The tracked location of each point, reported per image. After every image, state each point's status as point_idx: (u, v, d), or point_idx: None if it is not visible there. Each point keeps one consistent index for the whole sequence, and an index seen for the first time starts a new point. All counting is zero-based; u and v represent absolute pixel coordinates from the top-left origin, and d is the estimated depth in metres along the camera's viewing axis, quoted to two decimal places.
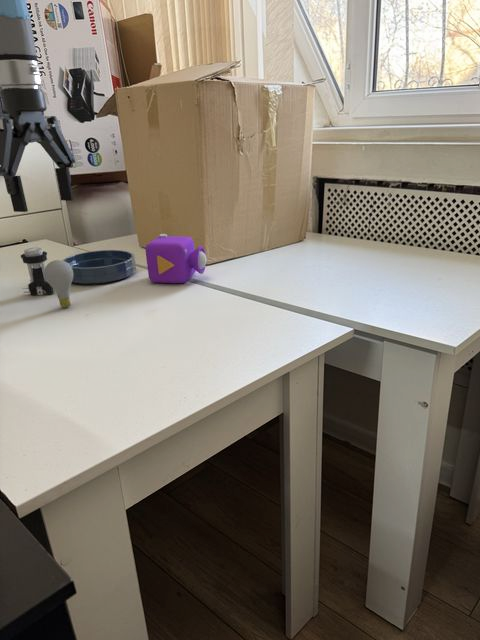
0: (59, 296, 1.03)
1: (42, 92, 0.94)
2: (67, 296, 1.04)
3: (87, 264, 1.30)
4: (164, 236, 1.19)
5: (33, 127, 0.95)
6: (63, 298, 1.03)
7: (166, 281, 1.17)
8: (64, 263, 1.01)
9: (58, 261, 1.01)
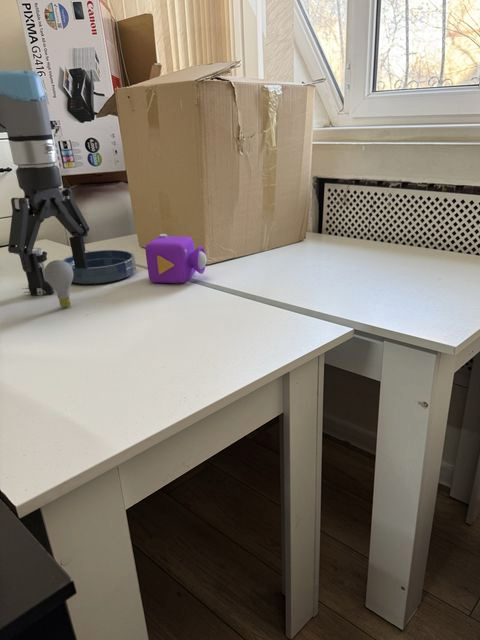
0: (59, 296, 1.03)
1: (57, 169, 0.94)
2: (67, 296, 1.04)
3: (87, 264, 1.30)
4: (164, 236, 1.19)
5: (48, 204, 0.95)
6: (63, 298, 1.03)
7: (166, 281, 1.17)
8: (64, 263, 1.01)
9: (58, 261, 1.01)
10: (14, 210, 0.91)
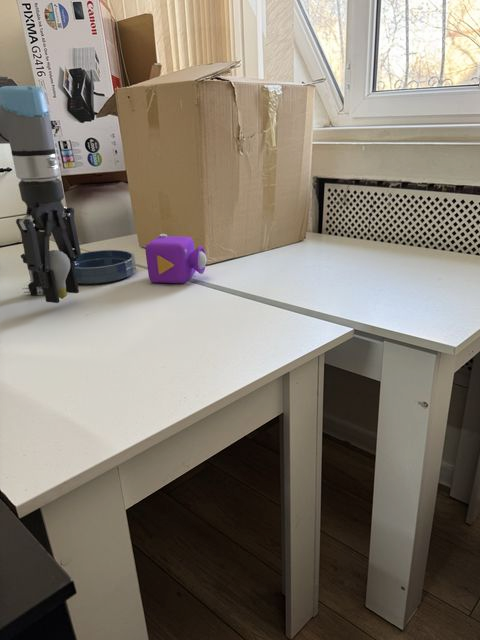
0: None
1: (60, 183, 0.95)
2: (64, 287, 1.03)
3: (87, 264, 1.30)
4: (164, 236, 1.19)
5: (51, 217, 0.96)
6: (59, 289, 1.03)
7: (166, 281, 1.17)
8: (61, 253, 1.00)
9: (55, 251, 1.00)
10: (22, 231, 0.93)
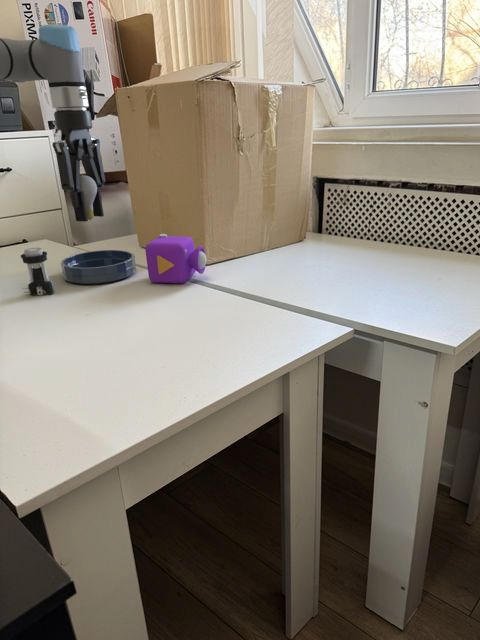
0: None
1: (89, 113, 1.10)
2: (91, 208, 1.18)
3: (87, 264, 1.30)
4: (164, 236, 1.19)
5: (81, 143, 1.11)
6: (88, 210, 1.18)
7: (166, 281, 1.17)
8: (89, 177, 1.15)
9: (84, 175, 1.15)
10: (57, 153, 1.08)
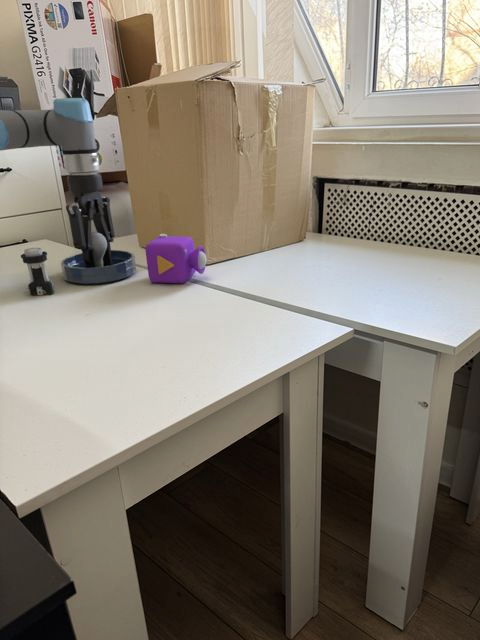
0: None
1: (100, 176, 1.16)
2: (101, 263, 1.24)
3: None
4: (164, 236, 1.19)
5: (92, 204, 1.17)
6: (98, 264, 1.24)
7: (166, 281, 1.17)
8: (100, 235, 1.22)
9: (95, 233, 1.21)
10: (70, 215, 1.14)
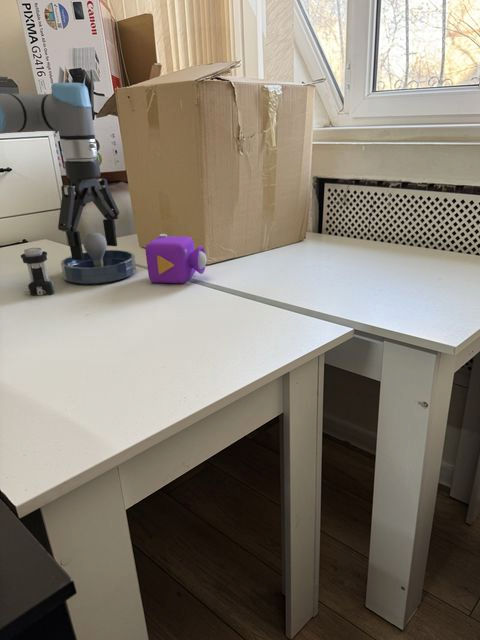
0: (95, 263, 1.24)
1: (98, 163, 1.15)
2: (101, 263, 1.24)
3: (87, 264, 1.30)
4: (164, 236, 1.19)
5: (90, 191, 1.16)
6: (98, 264, 1.24)
7: (166, 281, 1.17)
8: (100, 235, 1.22)
9: (95, 233, 1.21)
10: (63, 195, 1.12)
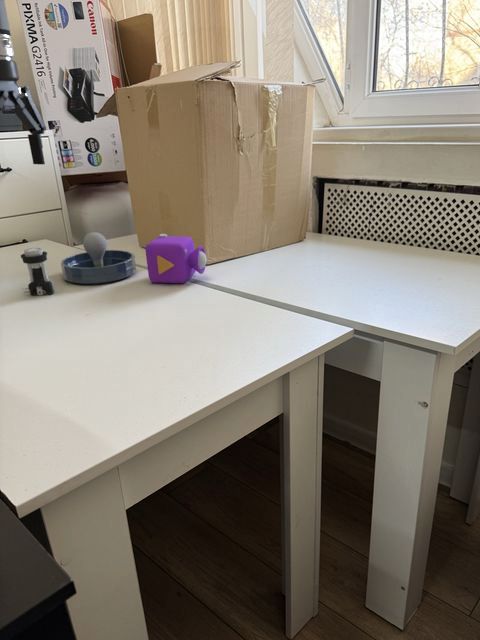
0: (95, 263, 1.24)
1: (15, 63, 1.06)
2: (101, 263, 1.24)
3: (87, 264, 1.30)
4: (164, 236, 1.19)
5: (6, 95, 1.07)
6: (98, 264, 1.24)
7: (166, 281, 1.17)
8: (100, 235, 1.22)
9: (95, 233, 1.21)
10: None
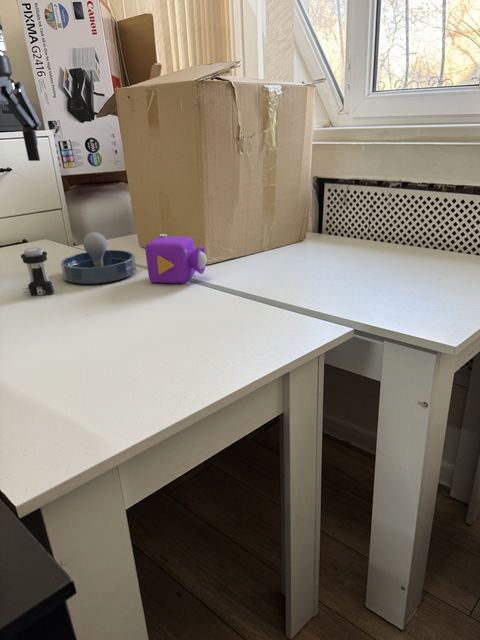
0: (95, 263, 1.24)
1: (7, 58, 1.05)
2: (101, 263, 1.24)
3: (87, 264, 1.30)
4: (164, 236, 1.19)
5: None
6: (98, 264, 1.24)
7: (166, 281, 1.17)
8: (100, 235, 1.22)
9: (95, 233, 1.21)
10: None
